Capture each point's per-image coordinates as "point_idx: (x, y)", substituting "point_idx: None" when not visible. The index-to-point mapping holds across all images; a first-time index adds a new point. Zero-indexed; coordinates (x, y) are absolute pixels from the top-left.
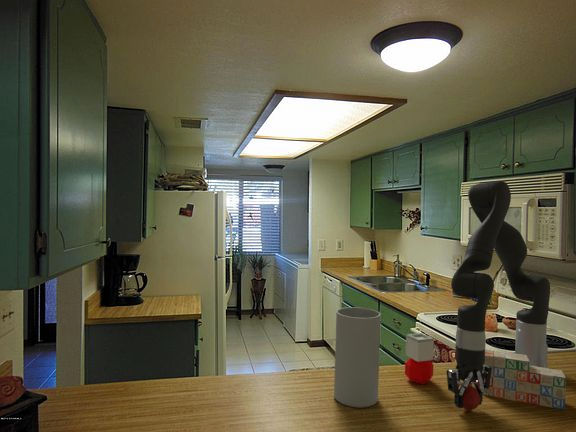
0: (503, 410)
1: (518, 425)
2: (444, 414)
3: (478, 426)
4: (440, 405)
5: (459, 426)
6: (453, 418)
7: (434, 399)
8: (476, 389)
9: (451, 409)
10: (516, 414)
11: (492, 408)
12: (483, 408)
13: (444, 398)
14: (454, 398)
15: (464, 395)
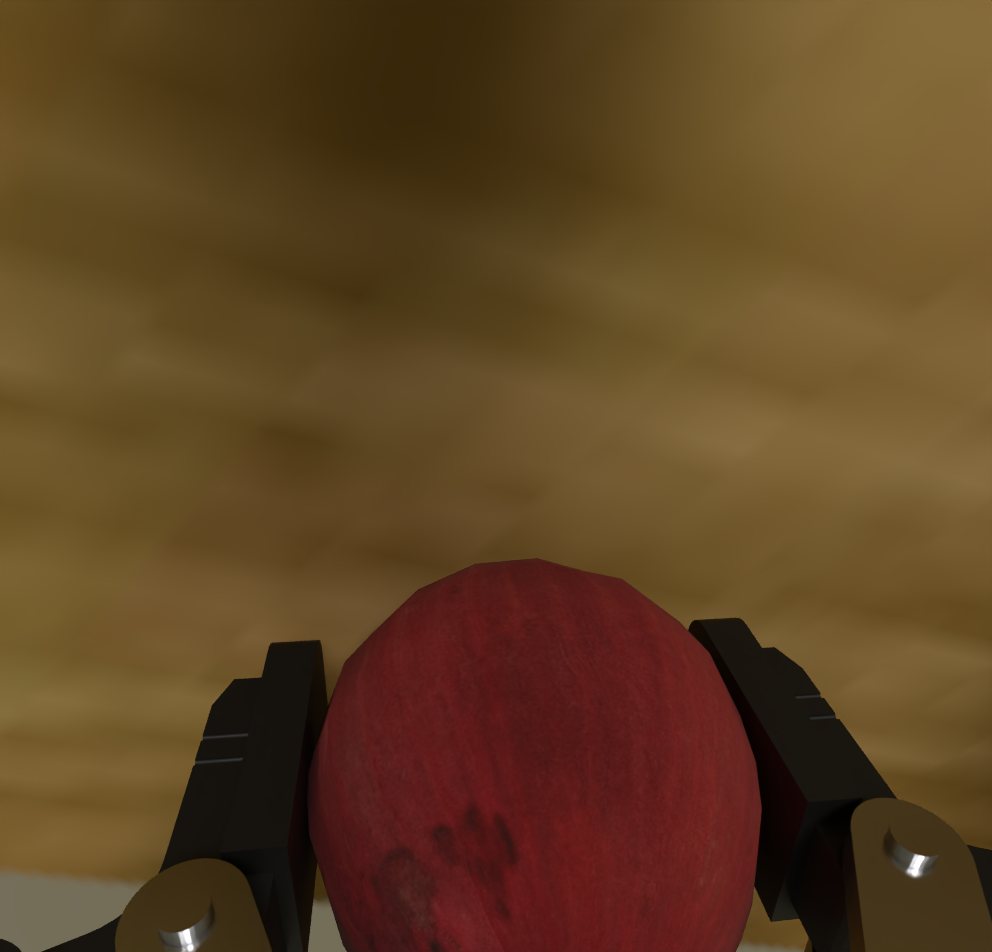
0: (953, 690)
1: (753, 920)
2: (39, 610)
3: (323, 888)
4: (153, 340)
5: (79, 863)
6: (120, 719)
7: (179, 52)
8: (814, 857)
9: (271, 512)
10: (976, 779)
11: (888, 626)
12: (779, 600)
13: (451, 94)
14: (192, 776)
15: (346, 946)
